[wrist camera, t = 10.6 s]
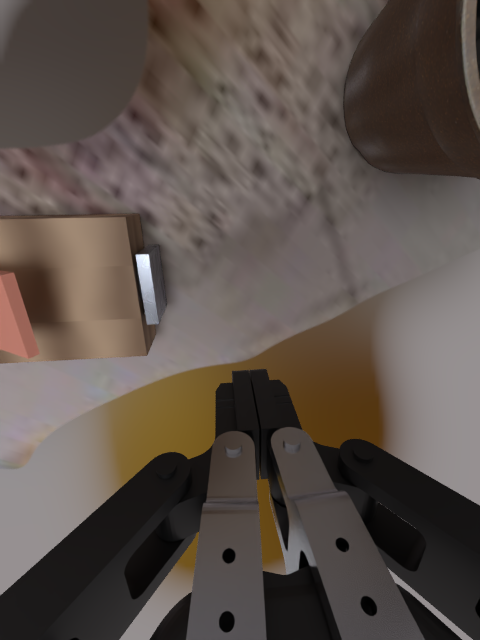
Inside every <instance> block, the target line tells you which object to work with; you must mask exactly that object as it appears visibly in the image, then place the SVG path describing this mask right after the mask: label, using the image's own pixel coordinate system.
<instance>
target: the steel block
mask: <svg viewBox="0 0 480 640" xmlns="http://www.w3.org/2000/svg"><path fill="white" fill-rule="evenodd" d="M136 261H137V263H136V271H137V277H138V284H139V290H140V297H141V301H143V303H144V309H145V315H146V321H147V325H150V324H159V322H160V320H161V318H162V315H163V313H164V310H165V308H166V306H167V301H166V293H165V286H164V278H163V271H162V263H161V256H160V248H159V245H148V246H146V247H145V248H144V249H142V250H141V251H140V252H138V253H137V254H136Z"/></svg>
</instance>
